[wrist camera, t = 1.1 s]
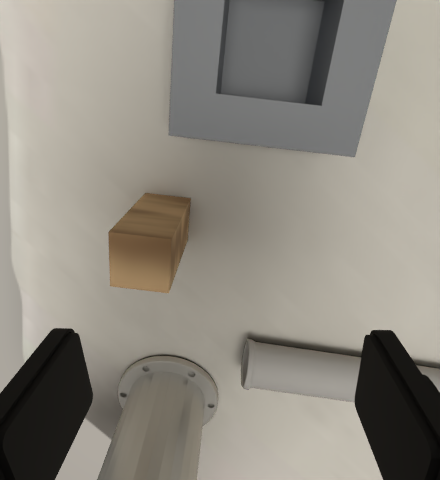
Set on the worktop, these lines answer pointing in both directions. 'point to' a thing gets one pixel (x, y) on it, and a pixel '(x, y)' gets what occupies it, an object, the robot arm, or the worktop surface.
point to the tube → (306, 371)
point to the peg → (149, 243)
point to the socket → (276, 71)
